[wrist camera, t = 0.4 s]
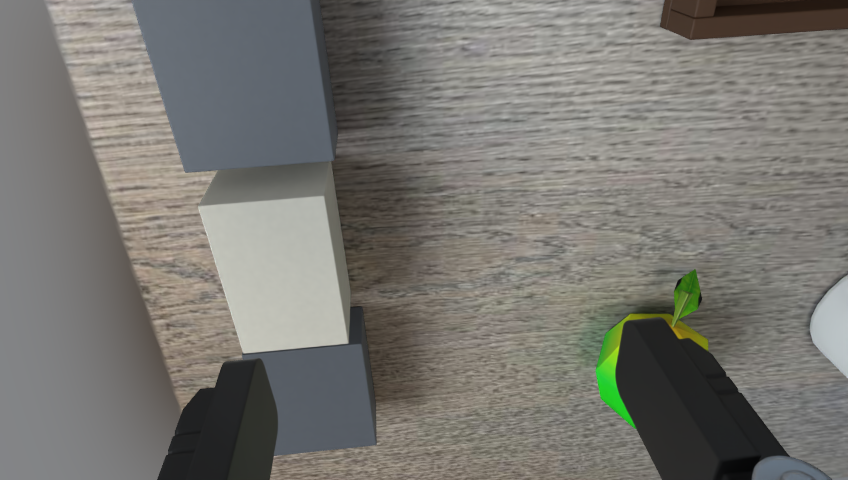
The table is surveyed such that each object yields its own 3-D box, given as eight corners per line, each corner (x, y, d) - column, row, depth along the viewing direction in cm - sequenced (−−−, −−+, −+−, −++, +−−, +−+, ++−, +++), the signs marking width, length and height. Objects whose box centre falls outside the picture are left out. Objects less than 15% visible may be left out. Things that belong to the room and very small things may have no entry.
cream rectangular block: (220, 164, 25) (197, 206, 21) (330, 155, 25) (324, 195, 22) (257, 301, 29) (243, 354, 26) (351, 292, 29) (348, 344, 26)
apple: (676, 480, 28) (741, 355, 24) (564, 418, 31) (601, 295, 27) (706, 397, 33) (765, 280, 29) (607, 351, 36) (645, 237, 32)
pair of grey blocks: (146, -60, 20) (113, -53, 17) (310, -69, 20) (301, -65, 18) (279, 414, 34) (273, 456, 31) (375, 404, 34) (376, 445, 32)
